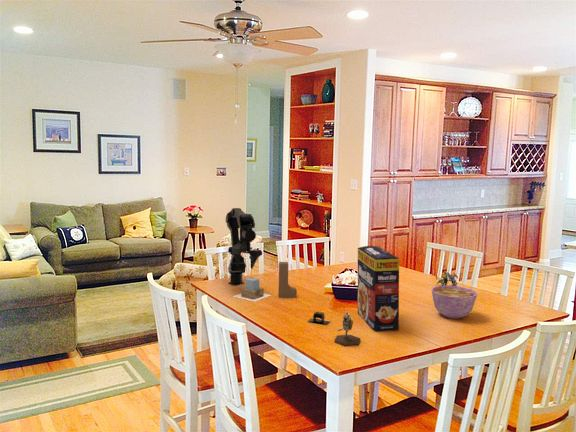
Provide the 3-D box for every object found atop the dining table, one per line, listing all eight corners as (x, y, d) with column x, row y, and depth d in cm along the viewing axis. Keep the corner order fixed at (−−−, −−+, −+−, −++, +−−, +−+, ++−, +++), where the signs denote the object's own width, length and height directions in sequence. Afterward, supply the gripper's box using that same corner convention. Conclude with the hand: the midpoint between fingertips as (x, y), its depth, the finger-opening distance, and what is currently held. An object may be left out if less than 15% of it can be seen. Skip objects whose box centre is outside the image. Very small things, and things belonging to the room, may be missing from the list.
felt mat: (249, 291, 264) (249, 290, 264) (271, 295, 256) (271, 295, 256) (232, 297, 252) (232, 296, 252) (254, 302, 244) (254, 301, 244)
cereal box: (356, 312, 232) (356, 244, 228) (379, 311, 233) (380, 243, 229) (374, 333, 206) (374, 257, 201) (400, 331, 207) (401, 255, 203)
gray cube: (251, 287, 256) (251, 277, 255) (259, 288, 253) (259, 278, 252) (245, 289, 252) (245, 279, 251) (253, 290, 249) (253, 280, 248)
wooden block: (295, 296, 257) (296, 261, 254) (296, 298, 252) (297, 263, 250) (278, 296, 256) (278, 261, 254) (278, 298, 251) (279, 263, 249)
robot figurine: (338, 335, 202) (339, 306, 200) (361, 338, 199) (362, 308, 197) (332, 344, 191) (333, 314, 190) (357, 348, 188) (358, 317, 187)
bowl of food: (421, 311, 234) (422, 287, 233) (454, 307, 242) (455, 284, 241) (450, 325, 216) (452, 299, 215) (485, 319, 224) (487, 294, 223)
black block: (334, 322, 218) (335, 312, 217) (329, 328, 211) (329, 317, 211) (308, 318, 223) (308, 308, 222) (302, 323, 216) (302, 313, 216)
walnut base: (251, 293, 258) (251, 285, 258) (263, 296, 254) (263, 288, 253) (241, 296, 252) (241, 289, 251) (253, 299, 247) (253, 291, 247)
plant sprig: (453, 298, 278) (462, 284, 270) (434, 294, 278) (443, 280, 270) (450, 282, 286) (459, 269, 279) (432, 279, 286) (440, 265, 278)
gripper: (221, 238, 258) (221, 267, 260) (249, 242, 248) (249, 272, 250) (235, 235, 268) (235, 263, 269) (262, 239, 257) (262, 268, 259)
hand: (244, 267), depth 262 cm, fingers open, 9 cm apart
